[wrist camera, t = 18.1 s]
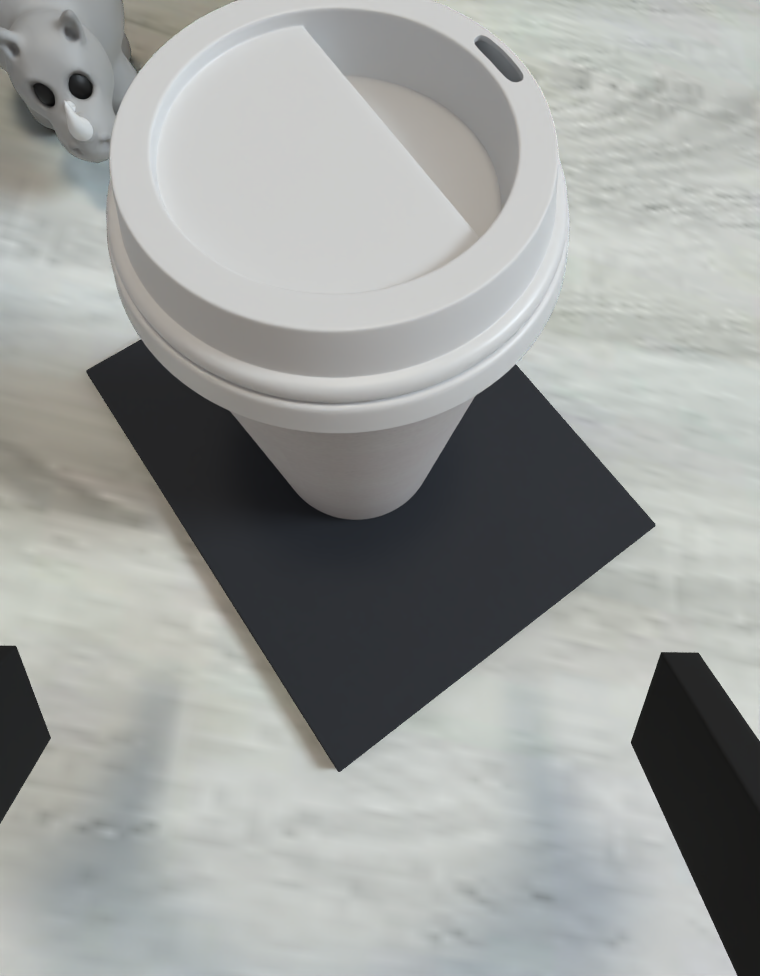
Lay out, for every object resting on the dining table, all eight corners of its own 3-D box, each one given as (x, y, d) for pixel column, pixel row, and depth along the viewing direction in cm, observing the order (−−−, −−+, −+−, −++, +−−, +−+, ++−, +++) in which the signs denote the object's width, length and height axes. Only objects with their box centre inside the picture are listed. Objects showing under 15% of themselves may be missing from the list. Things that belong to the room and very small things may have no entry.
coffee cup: (491, 534, 23) (684, 327, 9) (259, 576, 23) (65, 427, 8) (441, 333, 26) (526, -71, 12) (233, 366, 25) (53, -19, 11)
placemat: (91, 376, 26) (85, 370, 25) (377, 214, 29) (377, 204, 28) (339, 770, 21) (338, 773, 21) (650, 528, 24) (657, 524, 24)
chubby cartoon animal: (47, 234, 28) (-85, 60, 20) (11, 65, 31) (-115, -146, 23) (190, 198, 29) (119, 16, 21) (140, 36, 32) (62, -177, 24)
